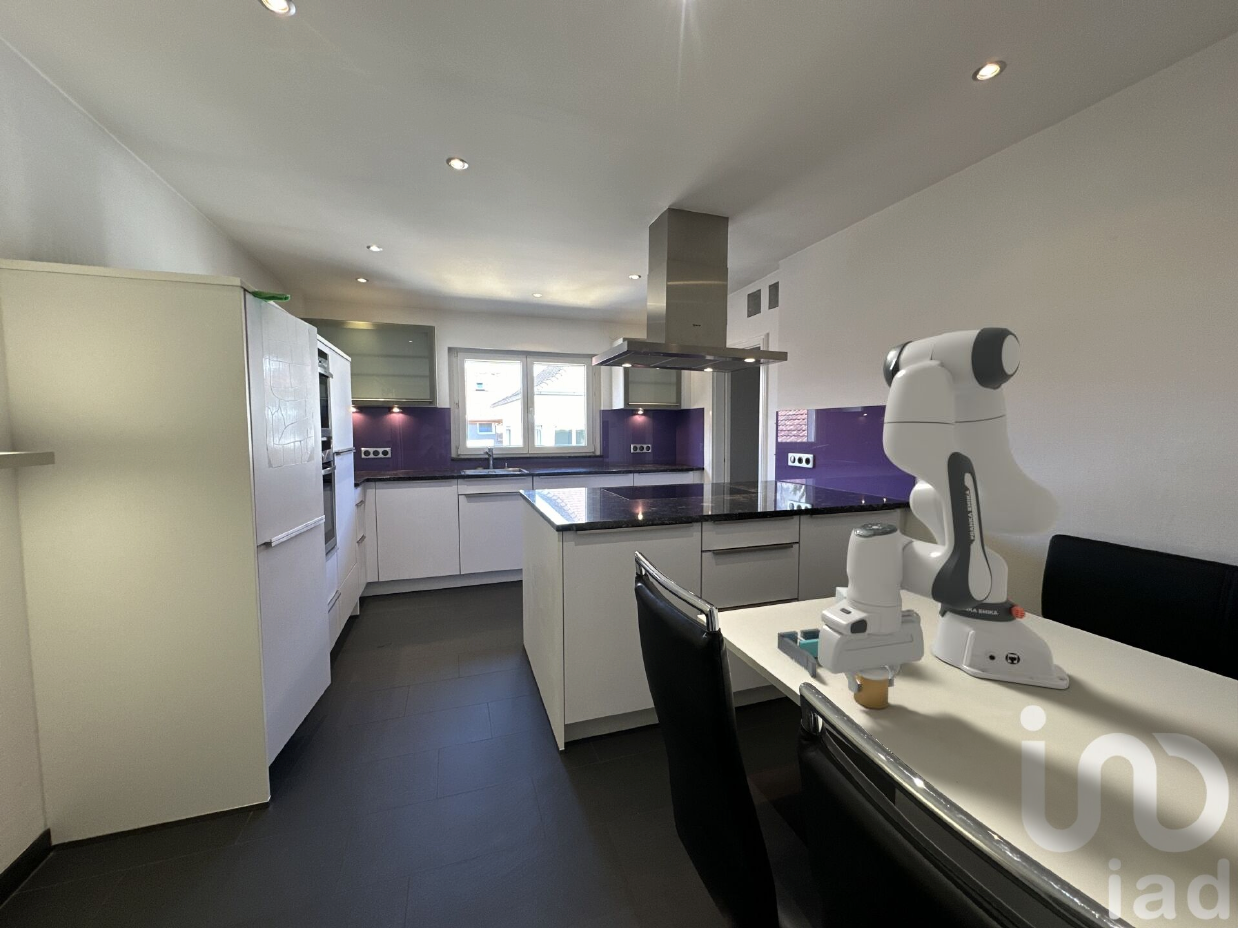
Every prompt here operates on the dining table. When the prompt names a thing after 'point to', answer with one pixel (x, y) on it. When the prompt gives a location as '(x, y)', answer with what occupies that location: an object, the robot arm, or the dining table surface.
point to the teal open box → (809, 646)
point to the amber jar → (873, 687)
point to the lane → (799, 648)
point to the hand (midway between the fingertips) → (870, 688)
